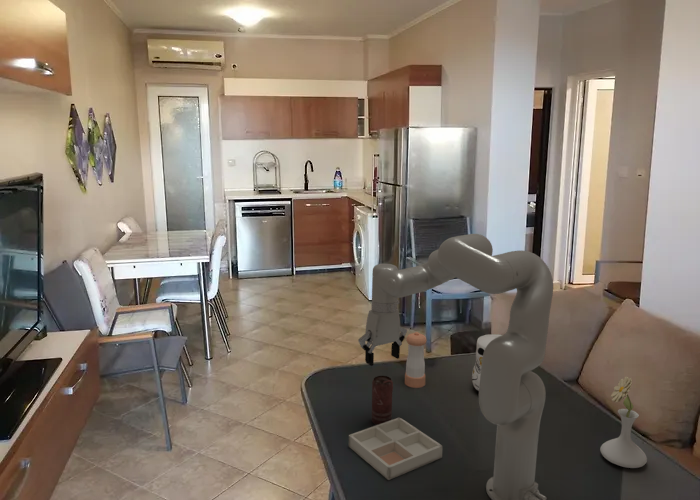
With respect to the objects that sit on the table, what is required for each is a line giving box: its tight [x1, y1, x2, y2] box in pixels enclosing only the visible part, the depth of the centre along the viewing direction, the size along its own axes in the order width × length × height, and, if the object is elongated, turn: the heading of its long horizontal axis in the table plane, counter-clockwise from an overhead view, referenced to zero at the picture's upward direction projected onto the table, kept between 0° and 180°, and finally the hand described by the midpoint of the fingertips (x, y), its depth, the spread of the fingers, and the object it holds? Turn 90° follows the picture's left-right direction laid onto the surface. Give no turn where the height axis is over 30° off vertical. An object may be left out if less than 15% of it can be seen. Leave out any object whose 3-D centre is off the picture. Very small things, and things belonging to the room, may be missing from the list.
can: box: [371, 375, 394, 426], centre depth 163 cm, size 6×6×14 cm
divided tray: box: [347, 416, 443, 481], centre depth 148 cm, size 18×18×4 cm
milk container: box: [471, 333, 503, 393], centre depth 184 cm, size 17×17×18 cm
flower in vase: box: [599, 376, 648, 469], centre depth 143 cm, size 13×11×25 cm
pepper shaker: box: [404, 331, 428, 389], centre depth 189 cm, size 7×7×19 cm
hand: (382, 360), depth 161 cm, fingers open, 9 cm apart
